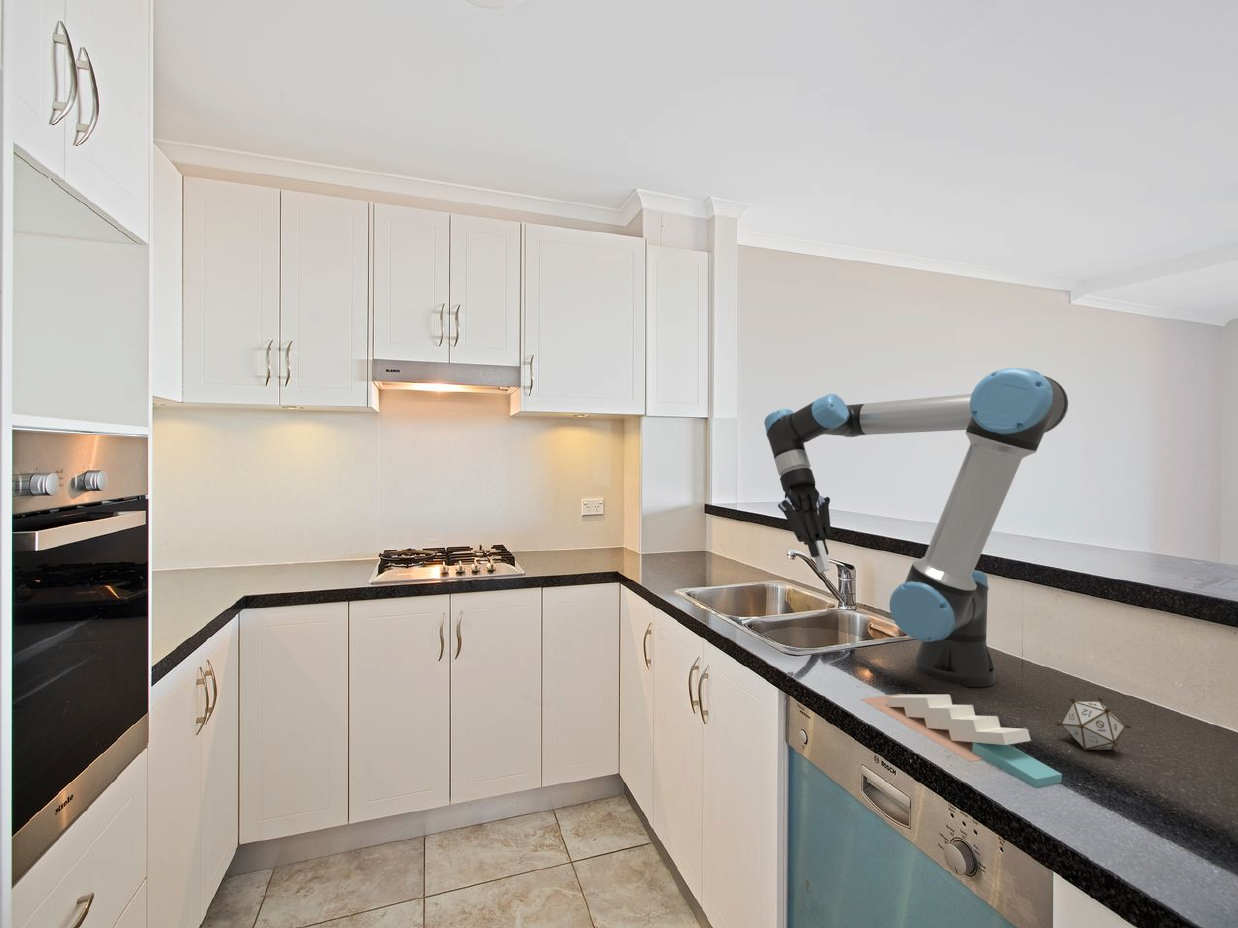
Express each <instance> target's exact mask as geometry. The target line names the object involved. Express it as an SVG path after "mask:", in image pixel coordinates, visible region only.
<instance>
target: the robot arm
mask: <svg viewBox="0 0 1238 928" xmlns="http://www.w3.org/2000/svg"><path fill="white" fill-rule="evenodd" d="M1068 410H1069V398H1068V394H1067V392H1066V391H1065V389H1064V387H1063V386H1062V385H1061V384H1060V383H1059V382H1058V381H1056V380H1054V379H1053V378H1051V377H1049V376H1045V375H1044V374H1041V373H1040V372H1038V371H1035V370H1033V369H1029V368H1020V367H1007V368H1001V369H999V370H996V371H993V372H991V373H989V374H988V375H985V376H984V378H982V379H981V380H980V381H979V382H978V383H977V384H976V386H975V387H974V389H973V391H972V392H971V393H966V394H956V395H944V396H933V397H924V398H913V399H902V400H890V401H882V402H879V401H878V402H868V403H857V404H846V403H845V401H844V400H843V399H842V397H839V396H838V395H837V394H835V393H828V394H827V395H825V396H822V397H819V398H817V399H815V400H814V401H813V402H811V403H809V404H807V405H806V406H803V407H802V408H801V409H799V410H797V411H795V412H794V411H793V410H792V409H788V408H782V409H781V408H780V409H778V410H776V411H772V412H770V413H769V414H768V415H767V416H766V417H765V418H764V427H765V432H766V438H767V440H768V441H769V445H770V448H771V452H772V454H773V459H774V462H775V466H776V469H777V470H776V471H777V474H778V475H779V481H780V483H781V488H782V491H783V492H784V499H783V500H782V501H781V502H779V503H778V505H777V507H778V508H779V510H780V511H781V512H783V514H784V516H785V518H786V520H787V522H788V523H789V526H790V528H791V530H792V531H793V534H794V535H795V537H796V539H797V541H798V542H799V543H803V544H804V545H805V546H807V548H808V551H809V553H810V557H811V558H813V559H814V562H815V563H814V564H815V565H816V570H817V572H818V573H824V572H825V573H826V572H828V571H829V570H831V569H832V567H831V564H830V560H829V549H828V545H827V543H826V540H827V539H829V538H830V537H832V530H831V529H832V528H831V527H832V526H831V517H830V507H829V506H830V502H831V498H830V497H829V496H826V497H824V496H822V495H820V493H819V490H818V489H817V488H816V479H815V476H814V473H813V470H812V469H811V463H810V459H809V457H808V454H807V450H806V449H805V444H806V443H809V442H810V441H811V440H813V439H816V438H817V437H819V436H822V435H827V436H828V435H829V436H840V437H841V436H842V437H845V438H855V437H860V436H869V435H889V434H893V435H895V434H910V433H911V434H912V433H931V432H947V431H948V432H950V431H954V432H955V431H965V432H964V433H965V434H966V436H967V439H968V440H969V443H970V445H969V446H968V449H967V452H966V454H965V456H964V458H963V460H962V461H963V462H962V465H961V467H960V468H959V471H958V474H957V477H956V478H955V482H954V484H953V486H952V488H951V491H950V493H949V496H948V498H947V501H946V503H945V506H944V507H943V510H942V513H941V515H940V518H939V521H938V523H937V525H936V528H935V530H934V533H933V535H932V537H931V540H930V543H929V545H928V548H927V550H926V552H925V554H924V556H923V557H922V558H918V559H915V560H914V561H913V562H912V564H911V566H910V569H909V571H908V574H907V577H906V579H905V580H904V581H905V582H903V583H900V584H899V585H898V587H896V588H895V589H894V590H893V592H892V594H891V596H890V599H889V611H890V615H891V617H892V619H893V622H894V623H895V624H896V626H897V628H899V630H900V631H902V632H903V633H904V634H905V635H907V636H908V637H910V638H912V639H914V640H916V641H919V642H920V644H919V646H918V649H917V652H916V654H915V656H914V665H913V666H914V668H915V670H916V671H918V673H920V674H922V675H924V676H927V677H929V678H931V679H934V680H938V681H941V682H946V683H950V684H956V685H959V686H962V687H967V688H985V687H991V686H993V685H994V684H995V683H996V670H995V669H996V668H995V666H994V663H993V660H992V657H991V654H990V650H989V647H988V644H987V632H988V631H987V629H988V628H987V626H988V624H987V623H988V598H989V597H988V595H989V594H988V591H989V584H988V581H989V580H988V576H987V574H986V573H985V572H983V571H980V570H976V569H975V568H976V567H977V564H978V562H979V559H980V557H981V554H982V553H983V550H984V547H985V546H986V543H987V541H988V539H989V537H990V534H991V531H992V529H993V528H994V524H995V523H996V520H997V518H998V515H999V513H1000V511H1001V509H1002V506H1003V504H1004V501H1005V499H1006V497H1007V495H1008V492H1009V490H1010V488H1011V485H1012V482H1013V481H1014V479H1015V476H1016V474H1017V471H1018V469H1019V467H1020V464H1021V462H1022V460H1023V459H1024V458H1026V457H1028V456H1030V455H1033V454H1036V453H1037V451H1038V448H1039V445H1040V443H1041V441H1042V440H1043V437H1044V434H1046V433H1049V432H1050V431H1052V430H1054V429H1055V428H1057V426H1059V424H1061V423H1062V422H1063V420H1064V418H1065V417H1066V415H1067V413H1068Z"/></svg>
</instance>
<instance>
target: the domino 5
mask: <svg viewBox="0 0 1238 928" xmlns="http://www.w3.org/2000/svg"><path fill="white" fill-rule="evenodd" d="M972 752H973V753H974V754H976V755H978V756H979V757H981V758H982V759H983V761H986V762H987V763H989V764H991V765H993V766H994V767H996V768H999V769H1000V770H1002V771H1003V772H1006V773H1007V774H1009V775H1011V776H1013V777H1015V778H1017V779H1018V780H1020V781H1021V782H1024V783H1025V784H1027V785H1029V786H1032V787H1033V788H1040V787H1041V788H1042V787H1047V786H1051V785H1054V784H1055V785H1056V784H1061V783H1062V779H1063V774H1062V773H1061V772H1059V771H1057V770H1055V769H1053V768H1052V767H1050V766H1049V765H1046V764H1045V763H1043V762H1041V761H1039V760H1038V759H1035V758H1034V757H1032V756H1031V755H1028V754H1027V753H1025V752H1023V751H1021V750H1019V749H1018V748H1016V747H1014V746H1012V744H1008V745H1000V744H988V743H976V742H973V749H972Z"/></svg>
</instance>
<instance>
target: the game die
mask: <svg viewBox="0 0 1238 928" xmlns="http://www.w3.org/2000/svg"><path fill="white" fill-rule="evenodd" d="M1069 700H1070V701H1071V704H1070V706H1068V709H1067V711H1066V714H1065V715H1064V717H1063V718H1062V720H1061V722H1056V723H1054V725H1055V726H1057V727H1058V726H1059V727H1060V726H1061V727H1063V729H1064V730H1065V731H1066V732H1067V733H1068V735H1070V736H1071V737H1072V738H1073V739H1074V740H1075V741H1076V742H1077V743H1078V745H1080V746H1081V747H1082V748H1083V751H1084V752H1087V751H1089V750H1091V751H1111V752H1114V753H1116V752H1117V751H1116V750H1115V749H1114V748H1115V746H1116V747H1119V746H1120V743H1119V742H1118V741H1119V740H1120V737H1122V734H1123V732H1124V730H1125V729H1131V728H1132V727H1133V726H1132V725H1130V724H1124V723H1123V722H1122V721H1121V720H1120V719H1119V718H1118V717H1117V716H1116V715H1115V714H1114V713H1113V712H1111V709H1110V708H1109V707H1107V706H1105V704H1104V703H1102V701H1103V698H1102V696H1100V697H1098V699H1097V700H1093V701H1092V700H1091V701H1090V700H1088V701H1087V700H1075V698H1074V697H1072V696H1069Z"/></svg>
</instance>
